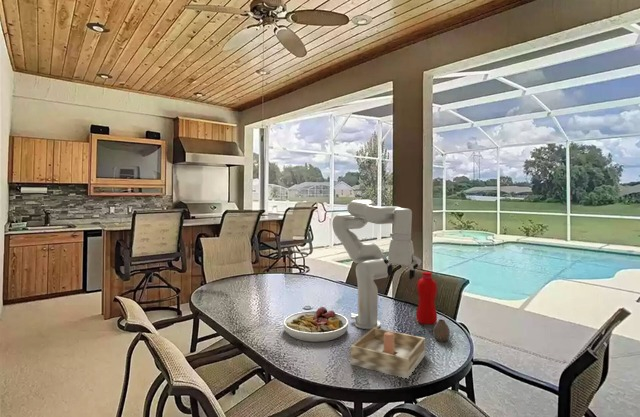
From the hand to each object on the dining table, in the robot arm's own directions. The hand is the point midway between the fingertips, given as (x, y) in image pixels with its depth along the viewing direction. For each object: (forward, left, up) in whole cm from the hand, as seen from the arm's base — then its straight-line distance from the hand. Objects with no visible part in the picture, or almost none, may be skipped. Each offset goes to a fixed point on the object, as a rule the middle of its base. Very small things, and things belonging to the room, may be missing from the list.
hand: (400, 276), depth 161 cm
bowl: (-38, -8, -29) cm, 48 cm away
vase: (+15, +11, -29) cm, 34 cm away
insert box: (+2, -19, -28) cm, 34 cm away
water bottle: (+3, +31, -29) cm, 42 cm away
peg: (+2, -19, -28) cm, 34 cm away
